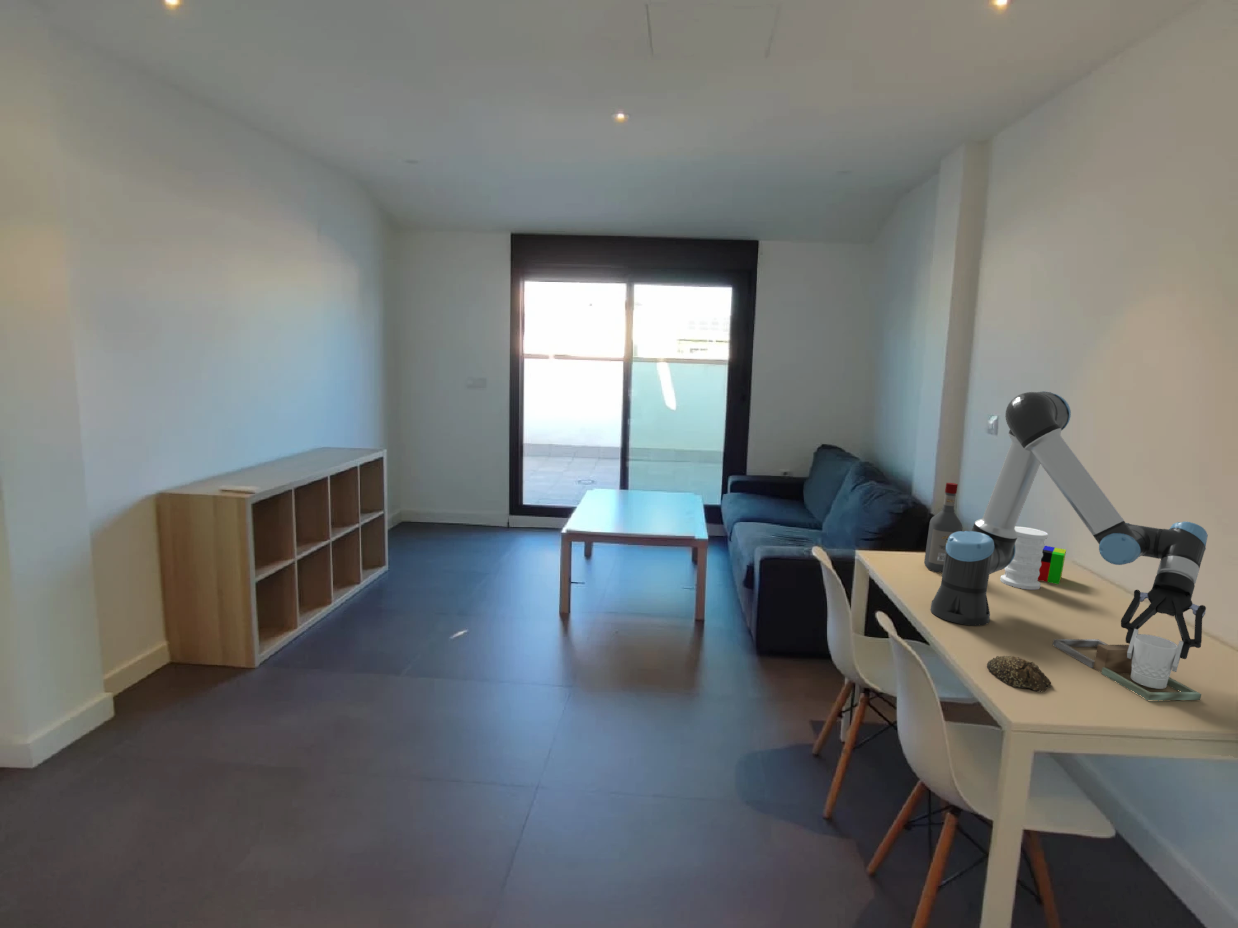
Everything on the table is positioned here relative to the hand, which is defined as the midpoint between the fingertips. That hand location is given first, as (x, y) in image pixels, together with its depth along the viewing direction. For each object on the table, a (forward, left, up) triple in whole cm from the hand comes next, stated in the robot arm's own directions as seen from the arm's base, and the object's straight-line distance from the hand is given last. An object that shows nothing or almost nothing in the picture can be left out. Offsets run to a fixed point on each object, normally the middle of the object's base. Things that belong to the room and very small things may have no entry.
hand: (1151, 661), depth 161 cm
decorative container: (+22, +71, -7) cm, 75 cm away
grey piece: (+2, +9, -7) cm, 11 cm away
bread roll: (-27, +6, -7) cm, 29 cm away
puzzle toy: (+36, +78, -7) cm, 86 cm away
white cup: (+1, +1, -6) cm, 6 cm away
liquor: (+2, +85, -7) cm, 85 cm away
